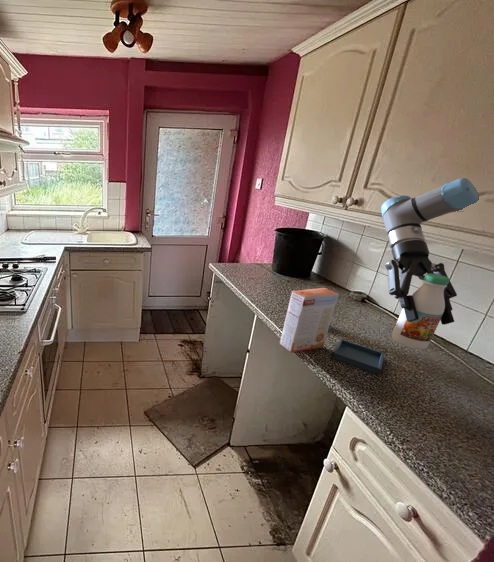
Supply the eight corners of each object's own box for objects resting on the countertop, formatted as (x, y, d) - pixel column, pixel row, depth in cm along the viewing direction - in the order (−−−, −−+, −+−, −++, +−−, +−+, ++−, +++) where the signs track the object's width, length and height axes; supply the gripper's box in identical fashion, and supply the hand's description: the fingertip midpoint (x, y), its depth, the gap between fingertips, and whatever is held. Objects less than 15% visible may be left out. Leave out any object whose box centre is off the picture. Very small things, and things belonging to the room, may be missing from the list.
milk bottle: (384, 337, 89) (411, 272, 81) (400, 333, 92) (428, 269, 84) (416, 352, 82) (448, 283, 75) (433, 347, 85) (465, 279, 78)
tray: (382, 357, 104) (384, 352, 104) (379, 374, 96) (381, 369, 95) (339, 343, 112) (340, 338, 111) (332, 358, 103) (334, 352, 103)
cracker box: (309, 339, 114) (325, 286, 106) (323, 348, 109) (340, 293, 101) (277, 343, 111) (291, 289, 103) (290, 353, 105) (306, 297, 98)
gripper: (379, 236, 87) (398, 313, 78) (459, 240, 85) (489, 321, 76) (361, 249, 94) (377, 322, 85) (435, 254, 92) (460, 329, 83)
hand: (430, 321), depth 81 cm, fingers closed on milk bottle, 8 cm apart
